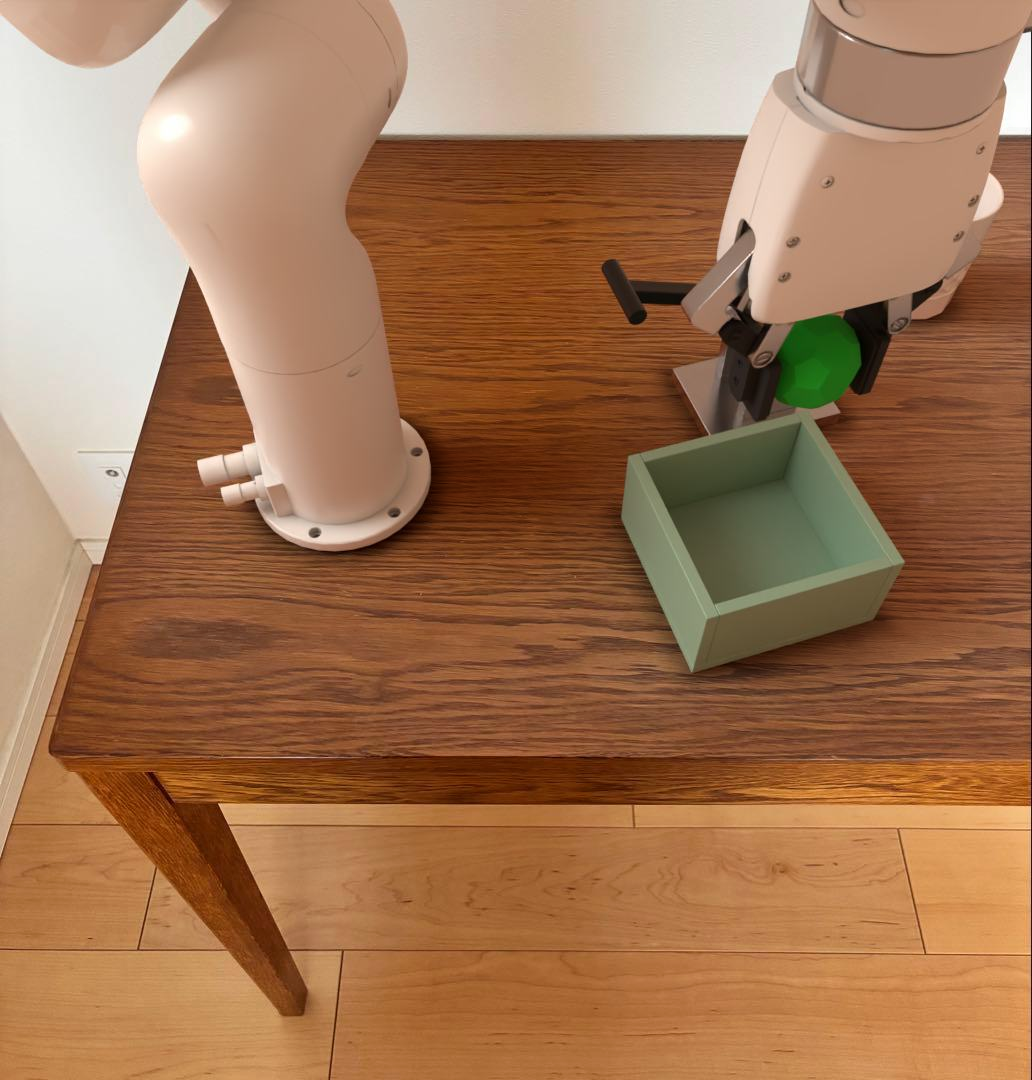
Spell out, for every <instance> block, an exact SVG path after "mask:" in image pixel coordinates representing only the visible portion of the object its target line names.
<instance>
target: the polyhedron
mask: <svg viewBox="0 0 1032 1080" xmlns="http://www.w3.org/2000/svg"><path fill="white" fill-rule="evenodd" d="M776 356H777V358H778V359H779V361H780V363H781V365H782V372H781V376H780V379H779V383H778V386H777V390H776V393H775V398H776V399H777V400H778V401H779V402H781V403H783V404H786V405H789V406H792V407H799V408H805V409H815V408H820V407H822V406H824V405H827V404H829V403H831V402H834V403H835V402H836V401H838V400H840V399H841V398H842V397H843V395H844V394H845V392H846V391H847V389H848V388H849V387H850V386H849V385H850V383H851V382H852V380H853V378H854V377H855V375H856V373H857V371H858V370H859V368H860V366H861V353H860V344H859V341H858V339H857V336H856V334H855V331H854V329H853V328H852V327H851V326H850V325H849V324H848V323H847V322H846V321H845V320H844V319H843V316H841V315H840V314H839V315H838V314H835V313H831V314H826V315H822V316H818V317H813V318H809V319H804V320H800V321H796V323H795V325H794V326H793V328H792V330H791V331H790V333H789V335H788V336H787V338H786V340H785V341H784V343H783V345H782V346H781V348H780V350H779V351H778V353H777V355H776Z"/></svg>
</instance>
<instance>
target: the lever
mask: <svg viewBox="0 0 1032 1080" xmlns="http://www.w3.org/2000/svg"><path fill="white" fill-rule="evenodd" d="M600 270H601V273H602V275H603V276H604V278H605V280H606V281H607V284H608V285H609V288H610V290H611V291H612V293H613V295H614V297H615V298H616V300H617V303H618V304H619V306H620V308H621V310H622V311H623V314H624V315H625V318H626V319H627V321H628V323H629V324H630V325H632V326H638V325H642V324H643V323H644V322H645V321H646V319H648V311H647V310H646V308H645V307H644V305H664V306H681V302H682V300H683V299H684V298H685V296H686V295H687V294H688V293H689V292H690V291H691V290H692V289H693V288H694V287H695V286H696V285H697V283H693V282H692V283H691V282H690V283H689V282H676V281H675V282H674V281H673V282H672V281H653V280H635V279H629V278H628V276H627V274H626V272H625V270H624V269H623V267H622V265H621V263H620V262H619V260H618V259H616V258H609V259H607V260H605V261H604V262H603V263H602V265H601V268H600ZM747 287H748V286H747ZM747 287H746V288H745V289H744V290H743V291H742V292H741V293H740V294H739V295H738V296H737V297H736V298H735V299H734V300H733V301H732V302H731V304H732V305H733V306H735V307H736V308H737V306H738V304H739V302H740V301H741V299H742V297H743V295H744V293H745V291H746V289H747Z"/></svg>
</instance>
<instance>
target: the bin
mask: <svg viewBox="0 0 1032 1080" xmlns="http://www.w3.org/2000/svg"><path fill="white" fill-rule="evenodd" d="M620 520H621V522H622V524H623V526H624V528H625V531H626V533H627V535H628V537H629V539H630V541H631V544H632V545H633V548H634V550H635V552H636V555H637V557H638V558H639V561H640V563H641V566H642V567H643V569H644V572H645V574H646V577H647V578H648V581H649V582H650V585H651V588H652V590H653V591H654V594H655V596H656V598H657V600H658V602H659V605H660V607H661V609H662V611H663V614H664V616H665V618H666V620H667V623H668V624H669V627H670V628H671V631H672V634H673V636H674V637H675V640H676V642H677V644H678V646H679V648H680V651H681V653H682V655H683V657H684V659H685V661H686V664H687V666H688V668H689V670H690V673H691V674H694V673H697V672H701V671H704V670H708V669H711V668H715V667H718V666H721V665H724V664H728V663H732V662H735V661H738V660H741V659H745V658H749V657H752V656H755V655H759V654H762V653H766V652H769V651H773V650H776V649H779V648H782V647H786V646H789V645H793V644H797V643H800V642H803V641H806V640H810V639H813V638H816V637H821V636H824V635H826V634H830V633H834V632H838V631H840V630H844V629H847V628H850V627H854V626H857V625H861V624H864V623H867V622H871V621H874V619H875V617H876V615H877V613H878V612H879V610H880V608H881V606H882V605H883V603H884V601H885V599H886V598H887V596H888V594H889V593H890V591H891V589H892V587H893V585H894V584H895V581H897V580H896V579H897V577H898V576H899V575H900V572H901V571H902V569H903V568H904V565H905V563H906V561H905V560H904V558H903V557H902V555H901V554H900V552H899V550H898V548H897V547H896V546H895V544H894V543H893V541H892V540H891V537H889V535H888V533H887V531H886V530H885V529H884V527H883V526H882V524H881V522H880V521H879V519H878V518H877V515H875V513H874V511H873V510H872V508H871V507H870V505H869V503H868V502H867V501H866V498H865V497H864V496H863V495H862V493H861V491H860V489H859V488H858V487H857V485H856V483H855V482H854V480H853V479H852V477H851V476H850V474H849V473H848V470H846V467H845V466H844V465H843V463H842V462H841V460H840V458H839V457H838V456H837V454H836V452H835V451H834V449H833V448H832V446H831V444H830V443H829V441H828V440H827V438H826V437H825V435H824V433H823V432H822V431H821V429H820V427H818V426H817V424H816V423H815V421H814V420H813V418H812V416H811V415H810V413H809V412H808V411H803V412H799V413H797V414H791V415H788V416H784V417H780V418H776V419H772V420H768V421H764V422H760V423H756V424H752V425H748V426H745V427H741V428H737V429H733V430H729V431H725V432H721V433H717V434H713V435H709V436H705V437H703V436H701V437H698V438H694V439H690V440H686V441H682V442H677V443H674V444H670V445H666V446H662V447H659V448H655V449H651V450H647V451H642V452H640V453H635V454H631V455H628V456H627V463H626V473H625V480H624V489H623V498H622V507H621V515H620Z"/></svg>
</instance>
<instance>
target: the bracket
mask: <svg viewBox="0 0 1032 1080" xmlns="http://www.w3.org/2000/svg"><path fill="white" fill-rule="evenodd" d="M758 323H759V324H760V325H761V326H762V327H763V326H764V324H765V323H761V322H758ZM718 350H719V351H718V356H717V357H715V358H710V359H706V360H702V361H698V362H693V363H690V364H686V365H682V366H677V367H673V368H672V369H671V370H672V371H671V378H670V379H671V383H673V385H674V387H675V389H676V391H677V392H678V394H679V396H680V398H681V400H682V402H683V403H684V405H685V408H686V409H687V411H688V412H689V415H690V416H691V418H692V420H693V422H694V423H695V425H696V427H697V430H698V431H699V433H700V435H701V437H705V436H709V435H713V434H717V433H721V432H725V431H729V430H733V429H737V428H741V427H745V426H748V425H752V424H756V423H760V422H764V421H768V420H772V419H776V418H780V417H784V416H788V415H791V414H797V413H799V412H803V411H808V412H809V413H810V415H811V416H812V418H813V420H814V421H815V423H816V424H817V426H818V427H819V428H823V427H827V426H831V425H834V424H835V425H836V424H837V423H838V421H839V419H840V417H841V410H840V409H839V407H838V406H837V404H836V403H835V401H834V402H831V403H829V404H827V405H824V406H822V407H820V408H815V409H805V408H799V407H792V406H789V405H786V404H783V403H781V402H779V401H778V400H777V399H776V398H775V397H774V400H773V404H772V408H771V411H770V415H769V416H767V419H766V420H763V421H759V422H755V421H754V420H753V419H752V417H751V415H750V414H749V412H748V410H747V409H746V407H745V405H744V404H743V402H742V401H741V402H738V401H736V399H735V398H734V396H733V394H732V393H731V391H730V388H729V383H728V378H729V373H730V368H731V364H732V359H733V355H734V349H732V348H731V347H729V346H728V345H726V344H725V343H724V342H723V341H722V340H721V341H720V346H719V349H718Z"/></svg>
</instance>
